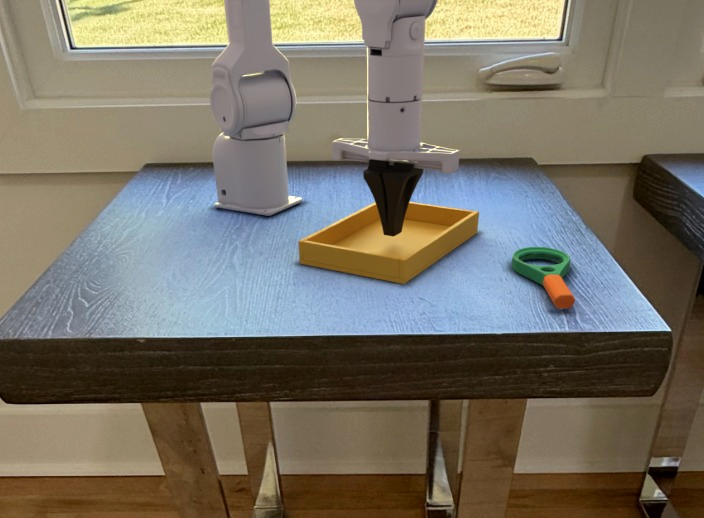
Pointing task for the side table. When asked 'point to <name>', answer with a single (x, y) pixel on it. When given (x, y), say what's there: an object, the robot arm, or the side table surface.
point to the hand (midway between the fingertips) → (392, 233)
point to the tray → (389, 242)
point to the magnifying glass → (546, 272)
